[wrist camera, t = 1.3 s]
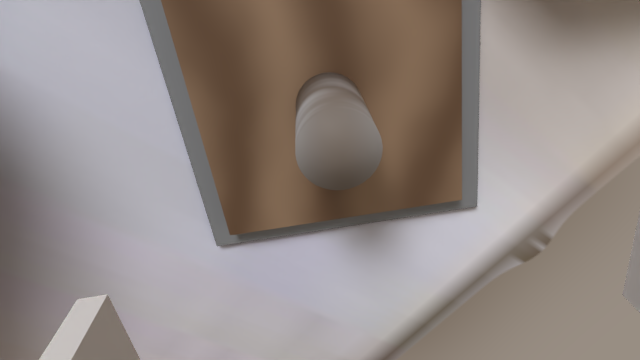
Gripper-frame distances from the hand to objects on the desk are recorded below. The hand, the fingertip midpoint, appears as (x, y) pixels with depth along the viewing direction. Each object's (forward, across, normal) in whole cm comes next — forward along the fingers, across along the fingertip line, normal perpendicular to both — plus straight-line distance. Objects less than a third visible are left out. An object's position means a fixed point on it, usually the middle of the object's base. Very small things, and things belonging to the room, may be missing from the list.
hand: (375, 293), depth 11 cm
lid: (+18, 0, 0) cm, 18 cm away
